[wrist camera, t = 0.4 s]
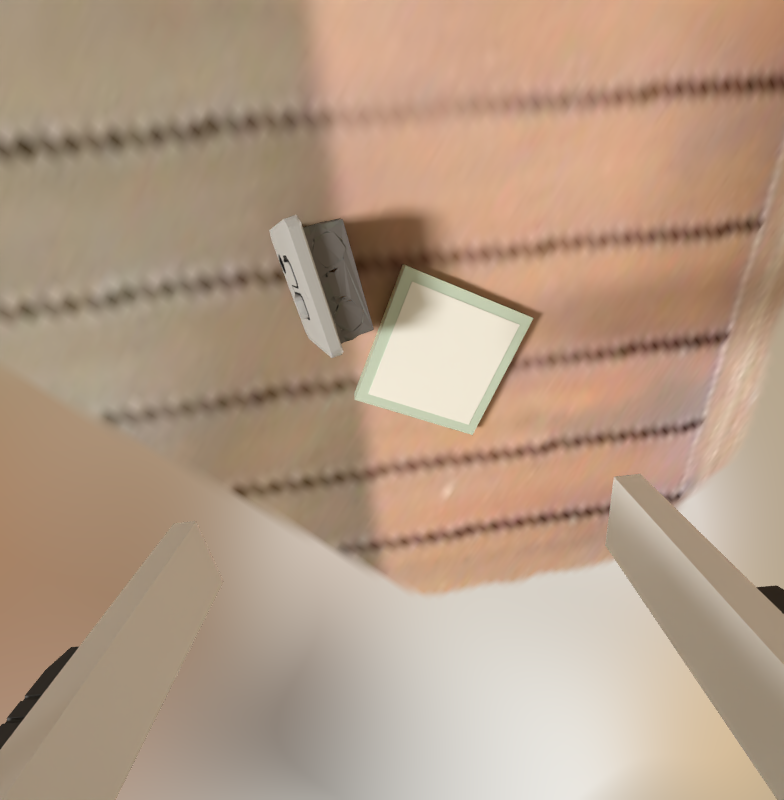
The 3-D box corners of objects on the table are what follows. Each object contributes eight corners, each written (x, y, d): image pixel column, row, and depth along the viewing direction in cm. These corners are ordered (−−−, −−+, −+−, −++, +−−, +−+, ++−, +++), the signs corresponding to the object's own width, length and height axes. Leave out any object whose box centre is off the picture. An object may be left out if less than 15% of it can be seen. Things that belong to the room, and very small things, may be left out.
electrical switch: (268, 229, 30) (255, 224, 22) (329, 212, 31) (340, 201, 22) (308, 337, 34) (310, 368, 26) (361, 321, 35) (380, 346, 26)
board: (402, 264, 33) (405, 265, 31) (526, 314, 36) (533, 318, 34) (354, 393, 37) (355, 400, 36) (468, 427, 40) (472, 435, 39)
